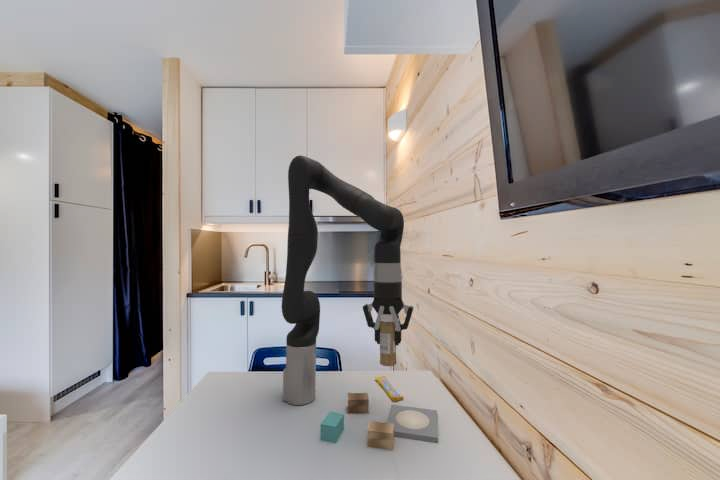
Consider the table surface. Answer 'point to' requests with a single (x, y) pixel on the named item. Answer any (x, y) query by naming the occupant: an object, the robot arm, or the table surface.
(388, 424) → the oak block
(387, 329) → the sprinkles bottle
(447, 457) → the table surface
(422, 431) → the slate board
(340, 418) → the teal block
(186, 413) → the table surface
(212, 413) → the table surface
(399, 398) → the candy bar
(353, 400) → the walnut block
